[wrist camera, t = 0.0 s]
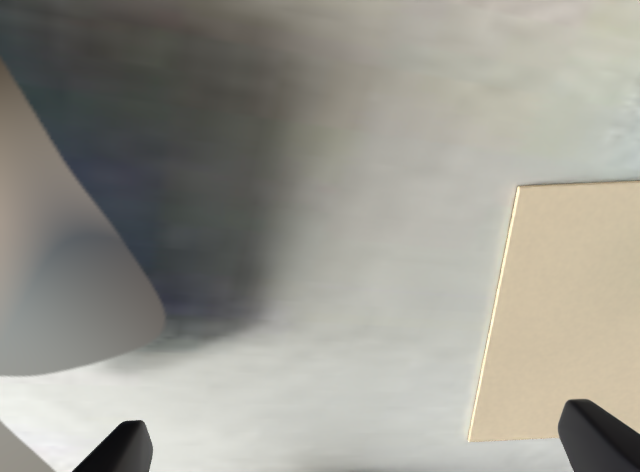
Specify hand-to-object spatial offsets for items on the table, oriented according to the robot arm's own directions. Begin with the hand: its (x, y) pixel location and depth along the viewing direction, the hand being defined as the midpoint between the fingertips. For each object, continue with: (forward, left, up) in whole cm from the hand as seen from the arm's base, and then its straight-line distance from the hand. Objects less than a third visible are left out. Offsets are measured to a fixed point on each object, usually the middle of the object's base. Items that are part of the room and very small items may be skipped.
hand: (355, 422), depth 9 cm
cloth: (-11, -19, -15) cm, 26 cm away
